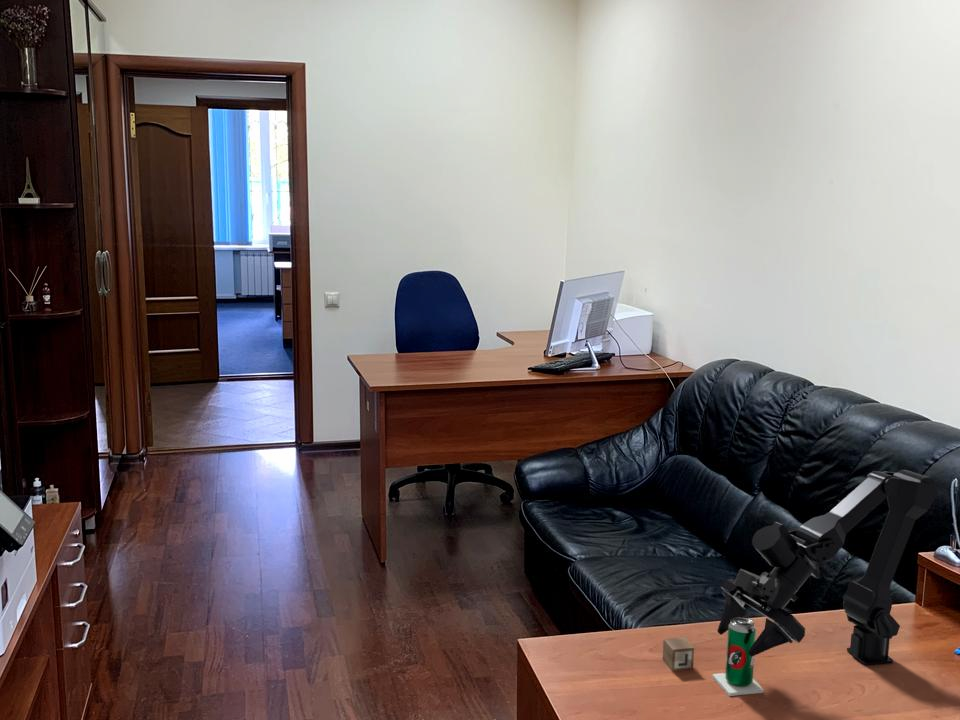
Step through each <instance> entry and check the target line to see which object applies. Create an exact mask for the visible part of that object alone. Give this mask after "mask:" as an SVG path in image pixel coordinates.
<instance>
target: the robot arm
mask: <svg viewBox="0 0 960 720" xmlns="http://www.w3.org/2000/svg"><path fill="white" fill-rule="evenodd" d="M938 490H939V489H938V487H937V485H936V482H935V480H934V479H933V478H931V477H929V476H926V475H923V474H920V473H916V472H914V471H911V470H908V469H901V470H899V471H897V472H892V471H885V470H884V471H878V470H873V471H871V472H869V473H868V474H867V475H866V478H865V480H864V481H862V482H861V483H860V484H859V485H858V486H857V487H855V489H854V490H852V491H851V492H850V493H848V494H847V495H846V497H844V498H843V499H842V500H841V501H840V502H839V503H838V504H836V506H834V507H833V508H832V509H831V510H830V511H829V512H827V513H825V514H823V515H822V514H821V515H819V516H815V517H812V518H811V519H809V520H807V521H805V522H804V523H802V524H801V525H799V527H798V528H795V529H792V530H788V528H787V527H786V526H785V525H784V524H783V523H781V522H778V521H774V523H773V524H771V525H767V526H764V527H762V528H760V529H758V530H757V531H756V532H755V533H754V534H753V536H752V539H751V541H752V546H753V547H754V549H755V550H756V551H757V552H758V553H759V554H760V555H761V557H762V558H763V559H765V561H766V562H767V563H768V564H769V565H770V566H771V567H774V568H773V569H772V570H771V571H770V572H768V571H764V572H762V573H761V574H760V575H757V574H755V573H753V572H750V571H748V570H746V569H742V568H740V569H739V570H738V574H737V575H736V578H735V579H734V578H728V579H725V581H724V582H723V583H722V584H721V586H720V588H721V589H722V590H723V591H722V595H723V596H724V600H725V602H724V603H725V604H724V605H725V606H724V610H723V613H722V616H721V619H720V622H719V625H718V628H717V633H718V634H719V635H723V634H725V633H726V632H728V625H729V623H730V622H731V619H732V618H736V617H742V618H745V616H746V615H747V614H748V611H747V610H749V609H754V610H755V611H756V612H758V613H760V614H761V615H763V616H765V621H764V622H765V623H764V629H763V630H762V631H761V633H760V634H759V636H758V637H757V638H756V639H755V642H754V644H753V645H752V646H751V648H750V650H749V651H748V654H749V655H750V656H754V657H755V656H756V655H760V654H761V653H764V652H767V651H768V650H771V649H773V648H775V647H779V646H781V645H784V644H787V643H789V644H793V642H794V641H795V642H796V643H797V644H799V643H801V641H802V640H803V639H804V638H805V636H806V628H805V627H804V625H802V623H801V622H800V621H799V620H798V619H797V618H796V617H795V616H794V615H793V614H791V613H790V612H788V611H787V610H784V608H785V607H786V606H787V605H788V604H789V602H790V601H792V602H794V603H795V602H796V601H797V600H798V598H799V597H798V596H797V595H796V593H797V592H798V591H799V589H800V588H801V587H802V586H803V585H804V583H805V582H806V581H807V580H808V578H809V577H810V576H811V577H814V578H816V579H820V577H821V572H820V569H819V568H820V564H819V563H818V562H816V561H814V560H812V559H809V558H808V557H807V556H810V557H812V558H814V559H816V560H818V561H822V562H828V561H830V560H831V559H833V558H834V557H835V556H836V555H837V553H838V552H839V551H840V550H841V549H842V548H843V546H844V544H845V541H846V535H847V534H848V533H849V532H850V531H851V530H852V529H853V528H854V527H855V526H857V524H858V523H859V522H861V521H862V520H863V519H864V518H865V517H867V515H868V514H869V513H871V512H872V511H873V510H874V509H875V508H876V507H877V506H879V505H880V504H881V503H882V502H883V501H884V500H885V499H886V500H887V504H888V509H889V510H888V514H887V516H886V518H885V521H884V524H883V527H882V529H881V532H880V535H879V536H878V539H877V542H876V544H875V547H874V550H873V552H872V555H871V558H870V560H869V563H868V565H867V568H866V570H865V573H864V575H863V576H862V577H861V578H860V579H858V580H857V581H854V580H850V581H849V582H848V585H847V589H846V592H845V593H844V595H843V596H842V599H843V603H842V608H843V610H844V613H845V614H846V617H847V622H849V623H852V624H853V629H852V633H851V634H850V637H851V638H850V646H849V647H846V651H847V652H848V653H849V654H851V655H852V656H853V657H854V658H856V659H857V660H858V661H859V662H860V663H862V664H863V665H864V666H865V665H866V666H870V665H880V664H881V665H882V664H891V663H894V659H893V658H892V657H890V656H889V651H890V650H889V649H890V640H891V639H893V637H895V636H897V635H898V633H899V631H900V628H901V625H900V624H899V622H897V621H896V619H895V618H894V617H893V616H892V615H891V611H892V607H893V599H892V597H893V596H892V593H891V585H892V582H893V579H894V577H895V574H896V572H897V570H898V566H899V564H900V561H901V559H902V556H903V554H904V551H905V548H906V546H907V543H908V541H909V538H910V535H911V532H912V531H913V527H914V525H915V523H916V522H917V521H916V520H918V519H919V518H920V517H922V516H923V515H924V514H926V513H927V512H929V510H930V508H931V507H932V505H933V504H934V501H935V500H936V497H937V494H938ZM799 551H800V552H799ZM805 554H806V555H805Z"/></svg>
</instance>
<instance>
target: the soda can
mask: <svg viewBox="0 0 960 720" xmlns="http://www.w3.org/2000/svg"><path fill="white" fill-rule="evenodd" d="M756 635H757V628H756V626H755V622H754V621H753V620H752V619H749V618H746V617H743V618H742V617H736V618H732V619H731V622H730V623H729V625H728V631H727V640H726V641H727V642H726V657H725V672H724V673H725V678H726V679H727V681H728V682H729V683H730V684H732V685H734V686H738V687H746V686H749V685H750V684H751V683H752V682H753V679H754V669H755V667H754V665H755V656H750V655H749V654H748V651H749V650H750V648H751V646H752V645H753V644H754V642H755V641H756V640H757V638H756Z"/></svg>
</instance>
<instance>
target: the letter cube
mask: <svg viewBox="0 0 960 720" xmlns="http://www.w3.org/2000/svg"><path fill="white" fill-rule="evenodd" d="M662 641H663V643H662V645H663V646H662V661H663V662H664V663H665V665H666V666H667V667H668V668H669V670H670V671H673V672H674V671H683V670H693V669H694V660H695V659H694V657H695V647H694V646H693V645H692V644H691V643H690V642H689V641H688V639H686V637H685V636H684V637H674V638H663V640H662Z"/></svg>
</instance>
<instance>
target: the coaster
mask: <svg viewBox="0 0 960 720" xmlns="http://www.w3.org/2000/svg"><path fill="white" fill-rule="evenodd" d="M711 678H712V679H713V680H714V681H715V682H716V683H717V685H718V686H719V687H720V688H721V689H722V690H723V691H724V690H725V691H724V692H725V694H726V695H728V697H732V696H733V697H734V696H740V695H742V696H743V695H752V694H762V693H764V691H765V690H764V689H763V687H762V686H761V685H760V684H759V683H758V682H757V681H756V680H755V679H754V678H753V682H752V683H751V684H750V685H749V686H746V687H738V686H734V685H732V684H730V683H729V682H728V681H727V679H726V678H725V672H721V673H720V672H719V673H712V674H711Z"/></svg>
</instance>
